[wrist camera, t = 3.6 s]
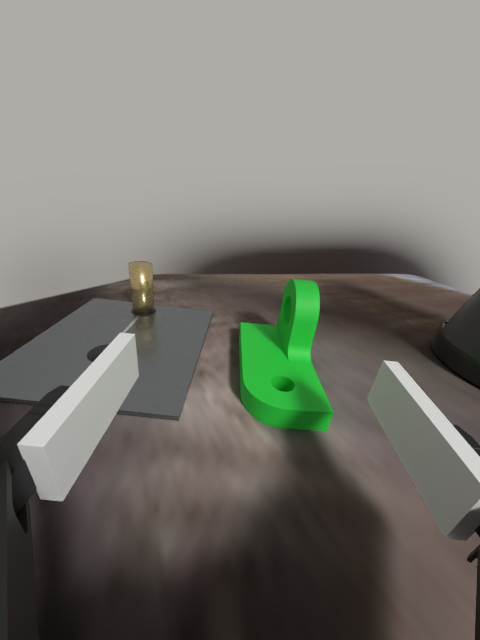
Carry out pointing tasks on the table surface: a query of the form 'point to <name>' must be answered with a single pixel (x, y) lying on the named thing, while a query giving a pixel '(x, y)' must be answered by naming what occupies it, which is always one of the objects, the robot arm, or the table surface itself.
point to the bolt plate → (97, 333)
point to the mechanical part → (284, 364)
